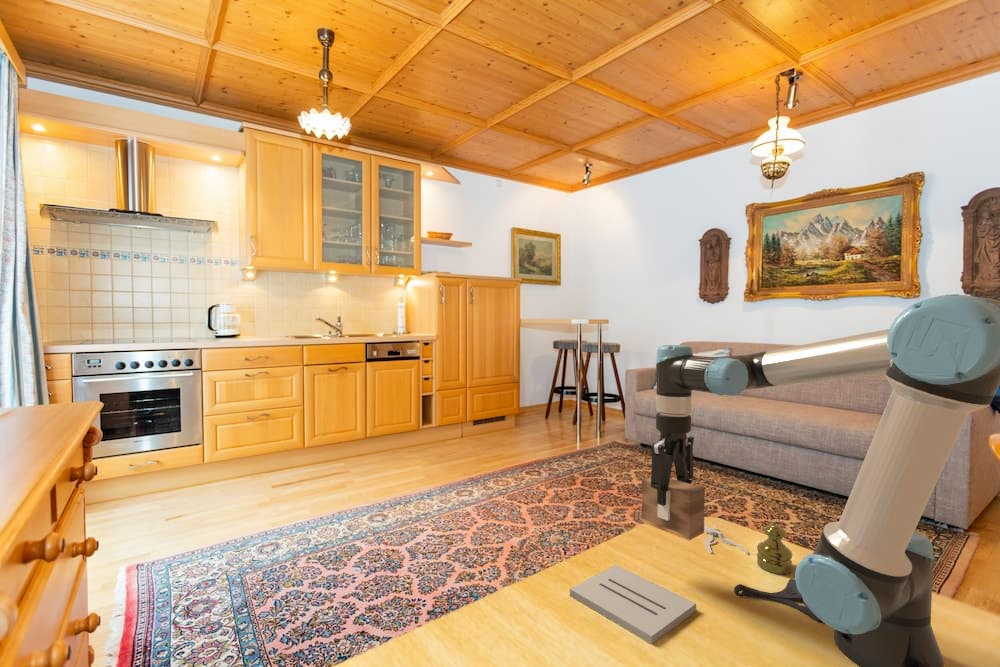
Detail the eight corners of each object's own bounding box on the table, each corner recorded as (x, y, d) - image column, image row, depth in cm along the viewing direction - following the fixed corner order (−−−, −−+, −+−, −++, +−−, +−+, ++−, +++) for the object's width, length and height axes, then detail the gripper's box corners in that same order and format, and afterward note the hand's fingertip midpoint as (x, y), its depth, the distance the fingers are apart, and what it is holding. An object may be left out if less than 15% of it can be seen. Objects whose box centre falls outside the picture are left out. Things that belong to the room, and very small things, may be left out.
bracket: (725, 579, 112) (725, 567, 112) (795, 586, 109) (796, 573, 109) (745, 618, 97) (745, 604, 97) (826, 626, 95) (827, 612, 95)
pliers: (710, 548, 122) (690, 523, 137) (709, 554, 123) (690, 529, 137) (750, 550, 122) (725, 524, 137) (749, 556, 122) (725, 530, 137)
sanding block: (704, 532, 107) (704, 488, 107) (689, 540, 103) (689, 494, 103) (656, 515, 116) (657, 474, 116) (641, 521, 113) (642, 479, 112)
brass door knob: (753, 567, 116) (754, 526, 115) (761, 556, 121) (761, 517, 121) (788, 578, 111) (789, 535, 110) (794, 566, 116) (795, 525, 116)
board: (696, 610, 99) (696, 603, 99) (651, 644, 88) (651, 635, 88) (615, 570, 114) (615, 564, 114) (569, 595, 104) (569, 588, 104)
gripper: (681, 406, 118) (680, 499, 118) (633, 416, 106) (632, 519, 107) (711, 410, 112) (709, 509, 113) (663, 421, 100) (662, 531, 101)
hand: (672, 514), depth 110 cm, fingers closed on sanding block, 6 cm apart
